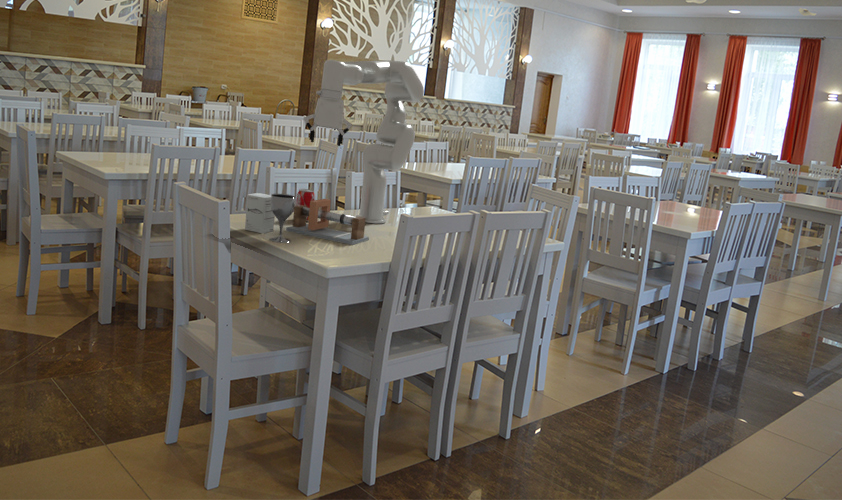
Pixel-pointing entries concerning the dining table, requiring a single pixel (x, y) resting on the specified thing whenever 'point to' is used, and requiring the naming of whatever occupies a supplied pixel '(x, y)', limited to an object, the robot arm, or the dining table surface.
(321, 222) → the ring
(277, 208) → the wine glass
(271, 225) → the supplement box
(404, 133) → the robot arm
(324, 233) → the board
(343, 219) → the pipe
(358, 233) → the posts
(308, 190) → the soda can
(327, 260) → the dining table surface
